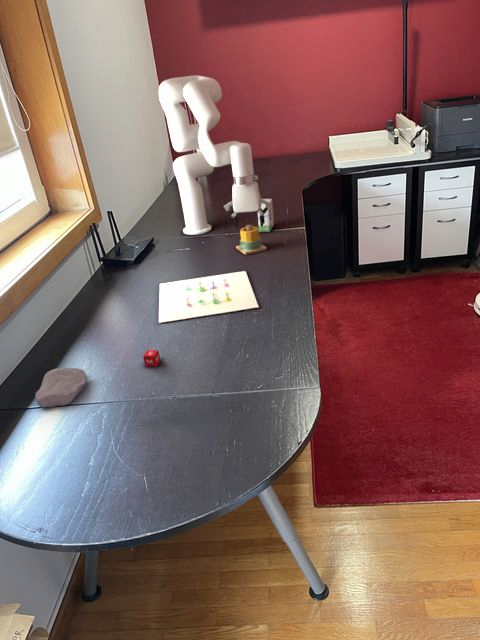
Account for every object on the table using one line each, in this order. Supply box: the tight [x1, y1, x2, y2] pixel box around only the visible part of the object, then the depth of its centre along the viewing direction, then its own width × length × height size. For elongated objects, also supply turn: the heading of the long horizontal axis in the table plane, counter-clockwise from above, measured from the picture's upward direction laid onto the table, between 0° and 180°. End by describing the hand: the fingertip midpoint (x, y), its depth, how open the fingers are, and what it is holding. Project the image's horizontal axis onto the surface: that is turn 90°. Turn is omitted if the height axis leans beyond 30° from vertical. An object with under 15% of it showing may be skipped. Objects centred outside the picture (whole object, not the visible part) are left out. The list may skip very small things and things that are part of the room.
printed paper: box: [158, 270, 259, 324], centre depth 163 cm, size 30×30×2 cm
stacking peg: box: [235, 224, 268, 256], centre depth 195 cm, size 9×9×9 cm
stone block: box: [35, 367, 87, 409], centre depth 121 cm, size 12×5×10 cm
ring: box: [239, 225, 260, 242], centre depth 194 cm, size 7×7×4 cm
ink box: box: [257, 198, 275, 233], centre depth 214 cm, size 9×5×12 cm, turn 168°
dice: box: [142, 349, 161, 367], centre depth 129 cm, size 3×3×3 cm
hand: (249, 226), depth 192 cm, fingers open, 9 cm apart
